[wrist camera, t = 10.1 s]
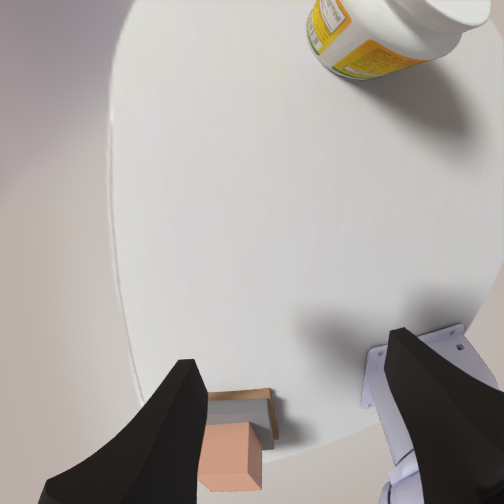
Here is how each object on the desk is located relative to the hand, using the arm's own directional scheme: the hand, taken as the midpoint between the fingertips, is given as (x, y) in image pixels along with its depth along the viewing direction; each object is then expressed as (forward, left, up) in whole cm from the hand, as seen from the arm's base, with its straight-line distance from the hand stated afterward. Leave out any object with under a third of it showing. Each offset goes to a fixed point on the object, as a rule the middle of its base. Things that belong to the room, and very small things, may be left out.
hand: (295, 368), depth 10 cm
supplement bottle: (-6, -13, -9) cm, 17 cm away
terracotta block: (+6, +15, -6) cm, 18 cm away
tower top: (+6, +15, -8) cm, 18 cm away
